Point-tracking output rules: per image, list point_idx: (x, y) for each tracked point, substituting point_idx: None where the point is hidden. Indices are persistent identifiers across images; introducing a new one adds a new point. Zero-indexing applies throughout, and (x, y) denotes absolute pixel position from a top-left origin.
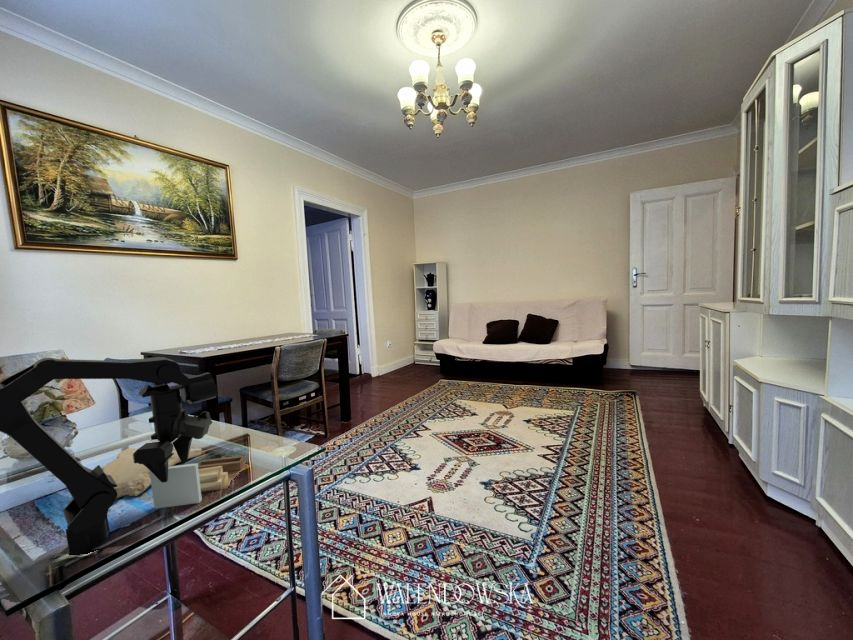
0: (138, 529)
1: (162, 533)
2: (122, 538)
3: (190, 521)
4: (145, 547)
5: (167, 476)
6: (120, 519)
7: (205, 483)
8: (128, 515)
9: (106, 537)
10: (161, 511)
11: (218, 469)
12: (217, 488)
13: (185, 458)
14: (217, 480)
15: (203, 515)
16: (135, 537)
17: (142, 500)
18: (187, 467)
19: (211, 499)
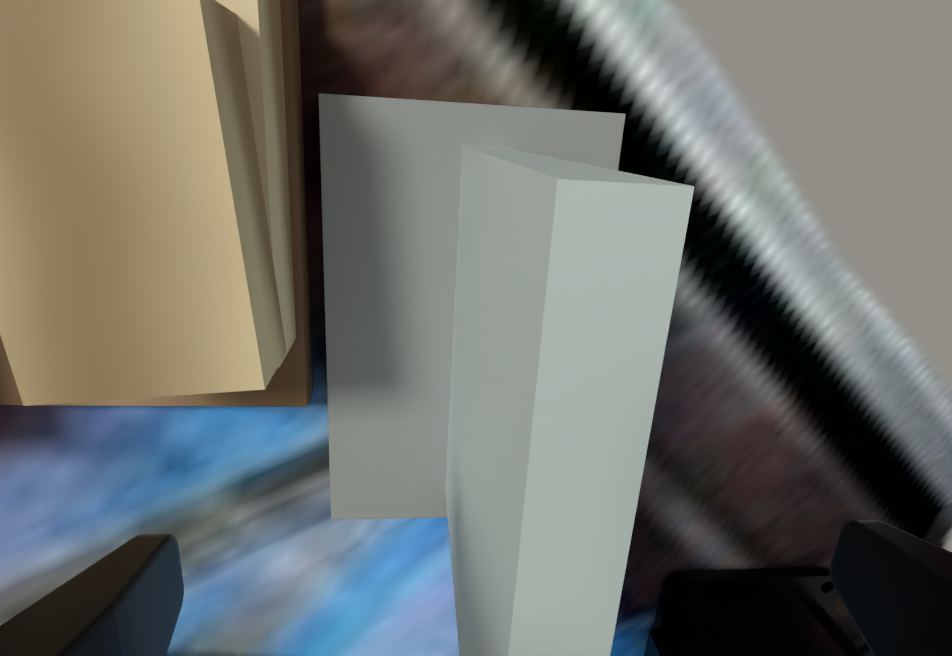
0: (660, 480)
1: (781, 301)
2: (721, 522)
3: (713, 145)
4: (889, 340)
5: (949, 566)
6: None
7: (268, 169)
8: None
9: (753, 604)
10: None
11: (37, 15)
12: (281, 34)
13: (136, 605)
14: (235, 14)
15: (667, 57)
16: (745, 454)
17: (284, 635)
18: (650, 364)
19: (408, 73)
